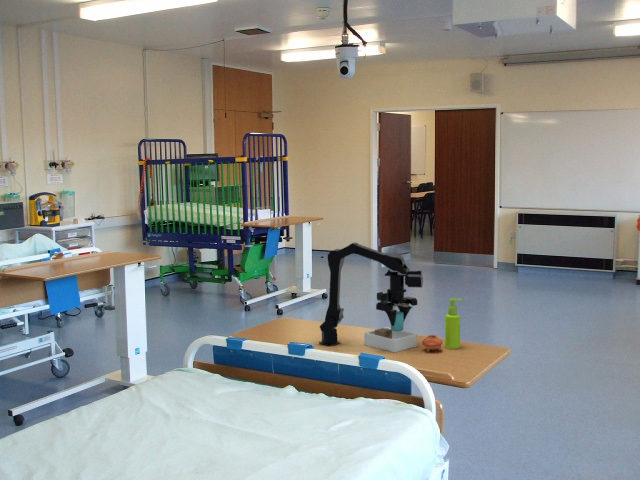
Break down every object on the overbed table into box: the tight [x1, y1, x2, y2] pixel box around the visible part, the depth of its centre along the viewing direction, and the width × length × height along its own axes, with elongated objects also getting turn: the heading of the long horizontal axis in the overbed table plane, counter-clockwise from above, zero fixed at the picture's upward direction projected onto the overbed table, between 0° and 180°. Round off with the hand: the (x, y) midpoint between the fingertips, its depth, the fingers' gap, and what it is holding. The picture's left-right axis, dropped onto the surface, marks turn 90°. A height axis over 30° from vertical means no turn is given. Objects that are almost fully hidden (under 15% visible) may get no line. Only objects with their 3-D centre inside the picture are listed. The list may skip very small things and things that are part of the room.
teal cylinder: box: [390, 310, 405, 331], centre depth 262 cm, size 5×5×7 cm
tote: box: [363, 327, 418, 353], centre depth 266 cm, size 17×13×5 cm
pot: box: [421, 334, 443, 353], centre depth 256 cm, size 8×8×7 cm
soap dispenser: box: [444, 297, 463, 350], centre depth 260 cm, size 6×7×20 cm
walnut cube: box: [374, 327, 392, 339], centre depth 269 cm, size 5×5×5 cm
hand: (397, 324), depth 262 cm, fingers closed on teal cylinder, 5 cm apart
